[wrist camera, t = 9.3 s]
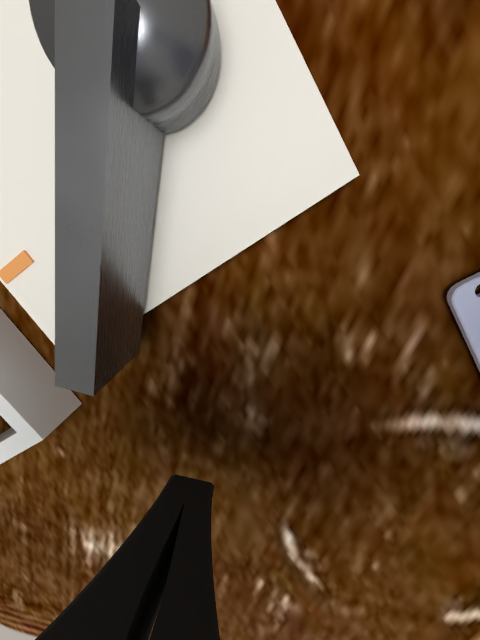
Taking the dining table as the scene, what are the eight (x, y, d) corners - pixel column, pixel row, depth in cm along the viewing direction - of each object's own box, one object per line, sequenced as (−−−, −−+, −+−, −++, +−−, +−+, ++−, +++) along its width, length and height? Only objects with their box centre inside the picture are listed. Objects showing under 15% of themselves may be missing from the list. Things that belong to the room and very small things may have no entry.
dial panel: (134, -263, 7) (111, -345, 6) (350, 179, 10) (360, 174, 9) (-128, 94, 11) (-172, 79, 9) (83, 352, 13) (67, 363, 12)
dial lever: (86, -57, 8) (-27, -227, 5) (234, -26, 7) (209, -184, 5) (76, 336, 11) (10, 374, 8) (173, 361, 11) (139, 407, 8)
